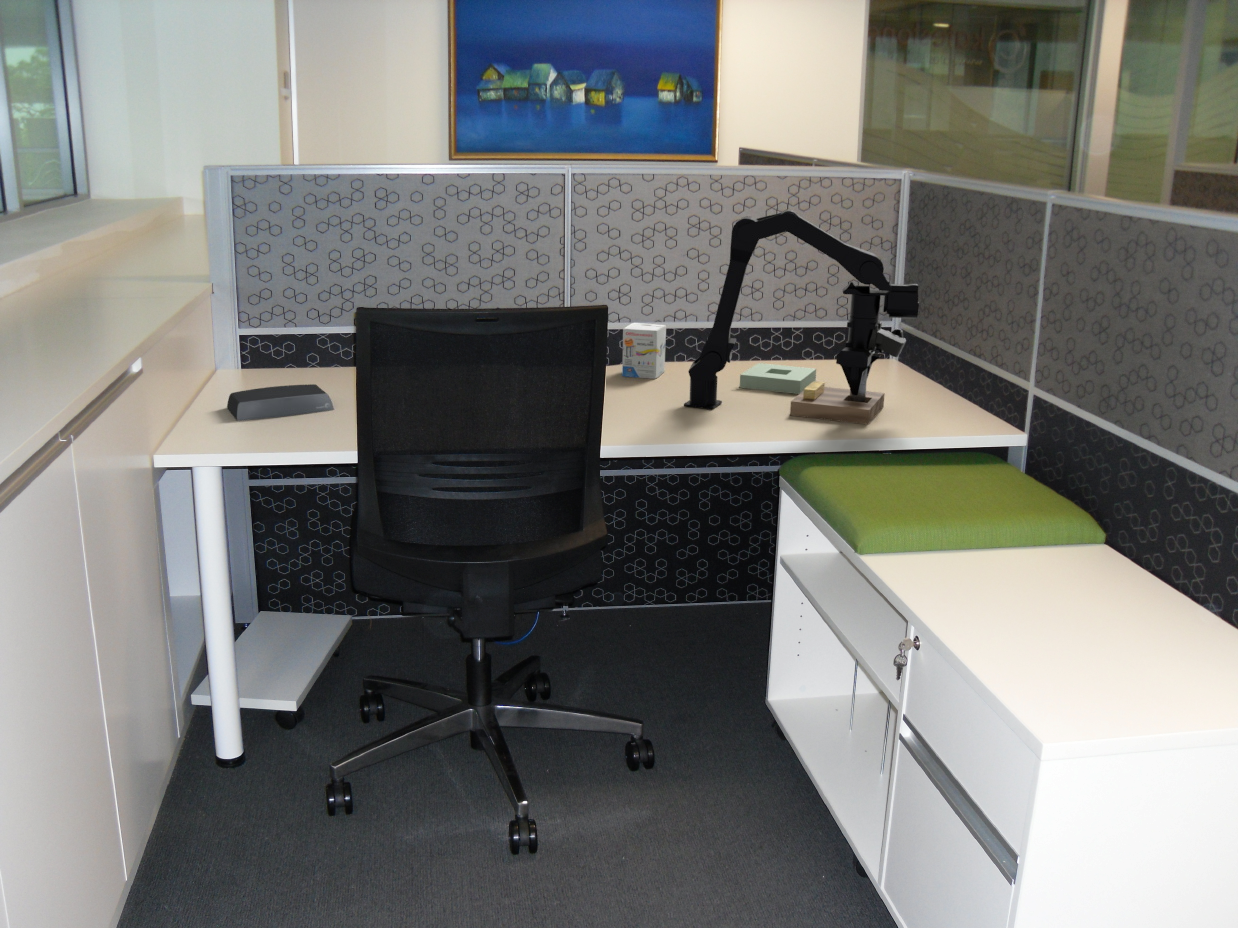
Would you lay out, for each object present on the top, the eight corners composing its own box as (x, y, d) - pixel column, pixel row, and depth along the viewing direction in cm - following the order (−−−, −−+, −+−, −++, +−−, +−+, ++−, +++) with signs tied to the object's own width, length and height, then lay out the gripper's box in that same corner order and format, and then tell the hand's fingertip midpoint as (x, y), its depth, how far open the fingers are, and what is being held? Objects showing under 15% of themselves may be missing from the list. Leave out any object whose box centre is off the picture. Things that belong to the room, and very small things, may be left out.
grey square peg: (862, 415, 218) (865, 368, 215) (847, 414, 219) (850, 366, 216) (865, 411, 221) (868, 364, 218) (850, 410, 222) (853, 363, 219)
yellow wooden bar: (814, 399, 218) (815, 390, 217) (803, 398, 219) (803, 389, 218) (824, 391, 225) (824, 382, 224) (812, 390, 226) (813, 381, 225)
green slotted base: (799, 394, 236) (800, 380, 235) (739, 387, 241) (740, 374, 240) (815, 381, 248) (816, 368, 247) (757, 375, 253) (758, 363, 252)
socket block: (868, 424, 212) (869, 410, 211) (790, 415, 218) (790, 401, 217) (883, 406, 226) (884, 392, 225) (809, 398, 232) (810, 385, 231)
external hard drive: (335, 413, 218) (334, 393, 217) (237, 424, 209) (235, 404, 208) (320, 399, 229) (318, 380, 228) (226, 409, 220) (224, 390, 219)
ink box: (621, 376, 251) (621, 327, 247) (631, 369, 258) (631, 321, 255) (656, 379, 248) (657, 330, 245) (665, 372, 256) (666, 323, 253)
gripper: (896, 327, 203) (889, 406, 208) (912, 313, 219) (905, 386, 224) (838, 322, 207) (832, 400, 212) (858, 308, 224) (853, 381, 228)
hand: (858, 391), depth 219 cm, fingers open, 6 cm apart
